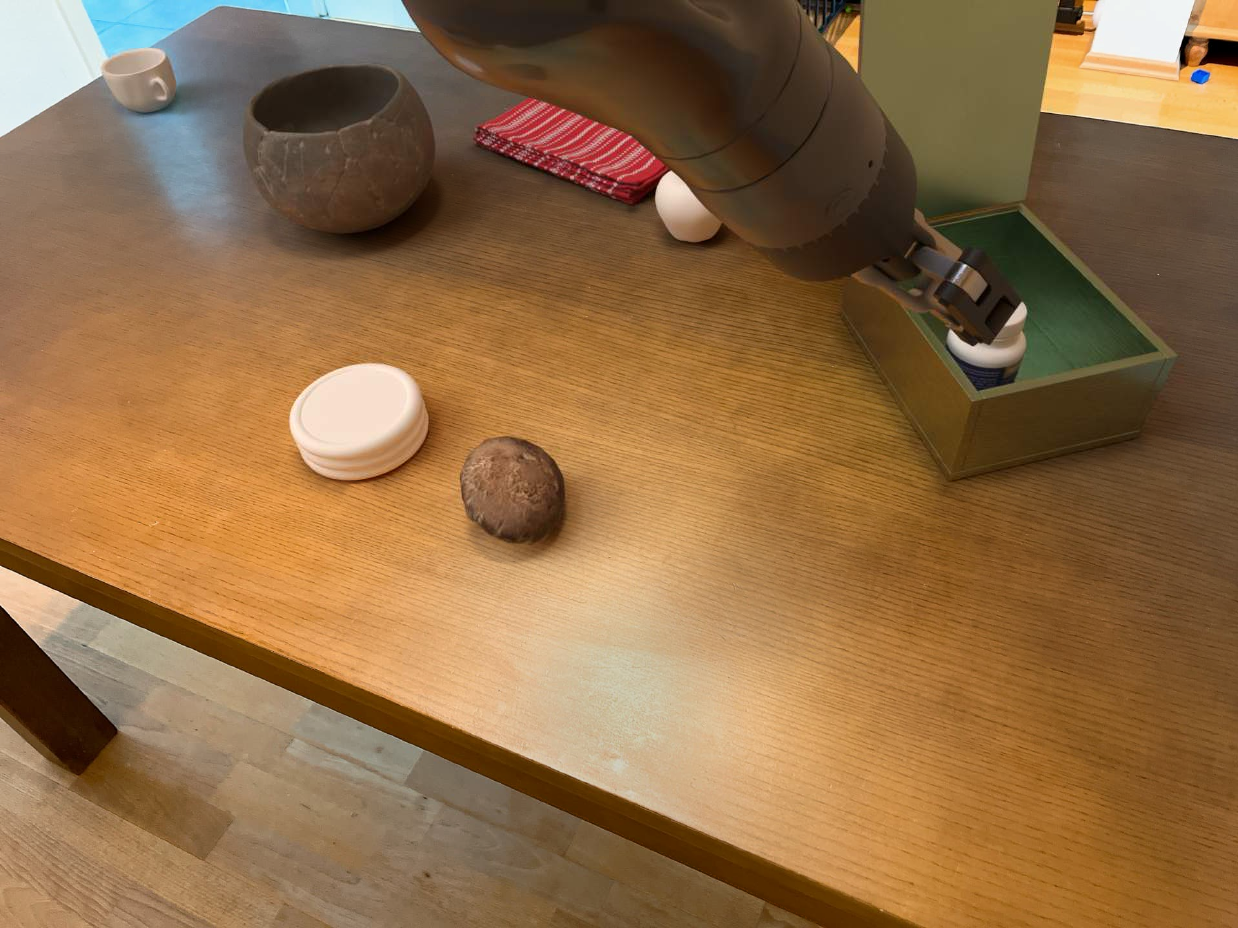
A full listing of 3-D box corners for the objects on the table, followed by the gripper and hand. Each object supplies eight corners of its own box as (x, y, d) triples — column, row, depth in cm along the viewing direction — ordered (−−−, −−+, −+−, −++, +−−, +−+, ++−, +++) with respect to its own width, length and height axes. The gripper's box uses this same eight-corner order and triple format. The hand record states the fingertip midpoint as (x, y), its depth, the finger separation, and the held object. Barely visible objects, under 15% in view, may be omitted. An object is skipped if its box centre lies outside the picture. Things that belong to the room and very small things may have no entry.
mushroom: (415, 493, 63) (455, 441, 59) (491, 456, 69) (533, 407, 65) (486, 585, 62) (532, 539, 58) (557, 539, 68) (603, 494, 64)
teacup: (109, 108, 115) (87, 65, 111) (163, 84, 118) (145, 42, 115) (151, 130, 110) (130, 86, 106) (206, 104, 114) (188, 61, 110)
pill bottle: (1001, 434, 66) (1034, 338, 60) (926, 419, 68) (950, 324, 61) (1008, 386, 70) (1040, 291, 63) (937, 373, 71) (960, 278, 65)
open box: (1137, 438, 66) (1178, 355, 61) (948, 481, 65) (972, 401, 59) (999, 282, 79) (1022, 203, 74) (839, 315, 78) (850, 236, 72)
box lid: (1075, -97, 61) (1038, -103, 64) (868, -64, 59) (841, -72, 63) (1025, 200, 73) (996, 182, 77) (852, 234, 72) (831, 214, 75)
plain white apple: (645, 224, 89) (641, 147, 83) (711, 205, 91) (712, 128, 85) (674, 261, 85) (672, 183, 79) (743, 241, 86) (747, 163, 80)
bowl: (291, 285, 86) (242, 161, 77) (261, 195, 98) (214, 78, 89) (471, 231, 90) (445, 108, 81) (422, 151, 102) (393, 35, 93)
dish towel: (636, 210, 91) (635, 186, 89) (470, 146, 102) (465, 124, 100) (735, 137, 99) (735, 114, 97) (571, 86, 110) (569, 64, 109)
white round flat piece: (416, 379, 76) (406, 346, 73) (442, 459, 69) (432, 426, 67) (294, 413, 74) (280, 381, 72) (310, 500, 68) (295, 467, 65)
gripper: (998, 136, 33) (1076, 290, 46) (725, 27, 41) (856, 185, 54) (874, 314, 34) (983, 415, 47) (633, 175, 42) (783, 294, 55)
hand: (915, 292), depth 51 cm, fingers open, 8 cm apart
